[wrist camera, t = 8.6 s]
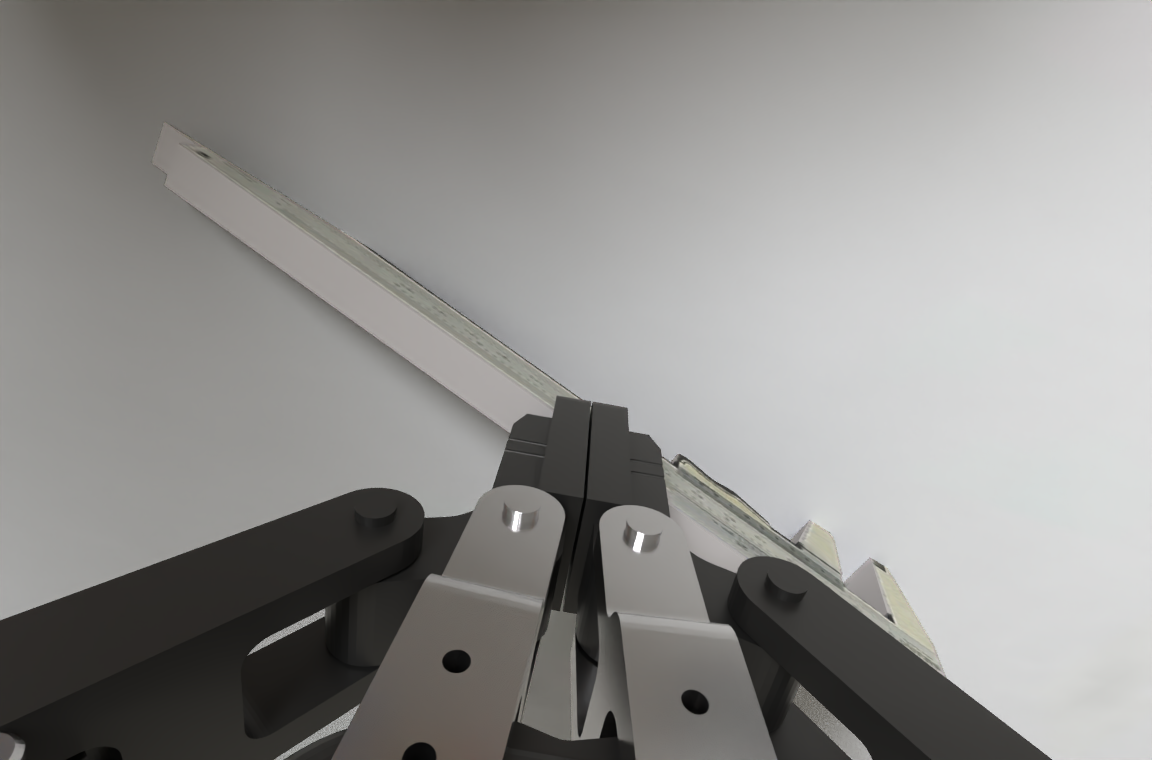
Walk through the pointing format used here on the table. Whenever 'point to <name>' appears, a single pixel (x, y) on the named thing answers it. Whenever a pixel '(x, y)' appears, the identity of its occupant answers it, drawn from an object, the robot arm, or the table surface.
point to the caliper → (497, 371)
